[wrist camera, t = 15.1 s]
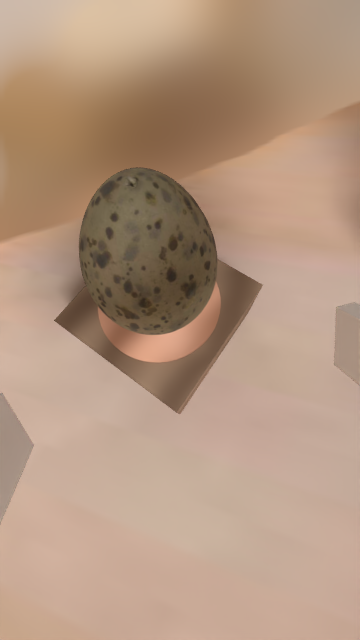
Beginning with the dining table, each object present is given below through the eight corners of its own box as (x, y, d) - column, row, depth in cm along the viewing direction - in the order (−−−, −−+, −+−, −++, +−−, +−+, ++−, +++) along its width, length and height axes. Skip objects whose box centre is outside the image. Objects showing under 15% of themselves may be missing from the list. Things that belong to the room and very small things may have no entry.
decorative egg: (187, 245, 31) (186, 98, 17) (228, 327, 27) (270, 225, 13) (96, 277, 30) (16, 146, 16) (126, 367, 26) (55, 302, 12)
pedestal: (248, 312, 37) (263, 283, 29) (179, 414, 33) (176, 412, 25) (154, 256, 40) (145, 216, 33) (82, 341, 36) (52, 319, 28)
